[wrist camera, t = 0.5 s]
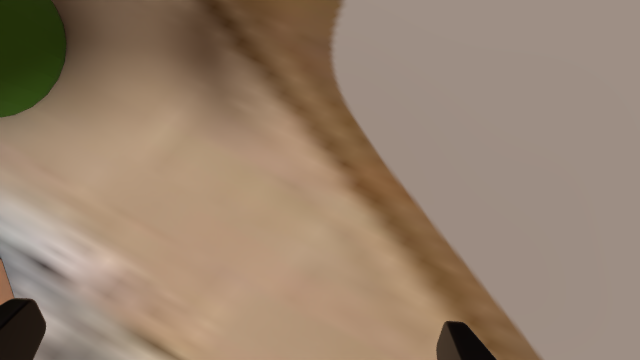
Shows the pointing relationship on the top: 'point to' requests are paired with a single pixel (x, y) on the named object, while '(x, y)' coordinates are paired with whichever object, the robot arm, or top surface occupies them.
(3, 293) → the bowl
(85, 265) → the top surface
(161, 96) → the top surface
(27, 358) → the robot arm
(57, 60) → the wine bottle
